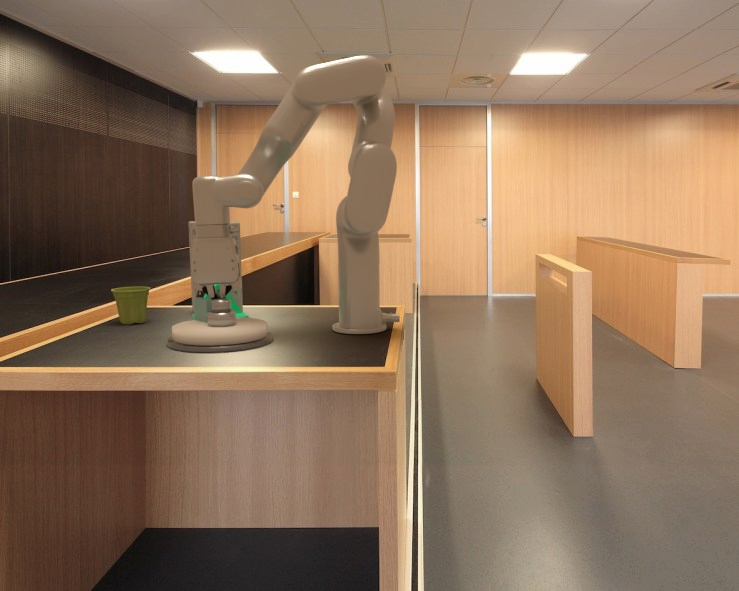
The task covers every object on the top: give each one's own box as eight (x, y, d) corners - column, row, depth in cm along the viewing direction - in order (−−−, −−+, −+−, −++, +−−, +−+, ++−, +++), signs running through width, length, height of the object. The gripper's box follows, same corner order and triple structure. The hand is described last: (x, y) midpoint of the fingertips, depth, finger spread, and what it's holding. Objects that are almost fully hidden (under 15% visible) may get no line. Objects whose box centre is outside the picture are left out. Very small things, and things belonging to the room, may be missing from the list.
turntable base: (277, 331, 154) (277, 327, 154) (266, 352, 132) (266, 347, 132) (181, 333, 153) (181, 328, 153) (154, 353, 131) (154, 348, 131)
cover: (227, 321, 147) (226, 297, 146) (241, 324, 142) (240, 299, 141) (202, 324, 142) (201, 299, 142) (216, 328, 138) (215, 302, 137)
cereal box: (192, 311, 185) (188, 221, 182) (218, 309, 189) (215, 220, 185) (214, 323, 166) (210, 222, 163) (243, 320, 170) (240, 222, 167)
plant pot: (105, 325, 165) (102, 290, 163) (127, 318, 174) (125, 285, 172) (138, 326, 162) (136, 291, 161) (159, 320, 171) (157, 286, 170)
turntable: (236, 324, 156) (235, 293, 156) (286, 335, 142) (285, 301, 141) (156, 335, 143) (154, 301, 142) (201, 350, 128) (199, 312, 128)
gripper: (249, 230, 150) (254, 310, 153) (183, 233, 150) (189, 313, 152) (245, 232, 143) (250, 316, 145) (175, 235, 142) (181, 319, 145)
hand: (219, 314), depth 149 cm, fingers closed
